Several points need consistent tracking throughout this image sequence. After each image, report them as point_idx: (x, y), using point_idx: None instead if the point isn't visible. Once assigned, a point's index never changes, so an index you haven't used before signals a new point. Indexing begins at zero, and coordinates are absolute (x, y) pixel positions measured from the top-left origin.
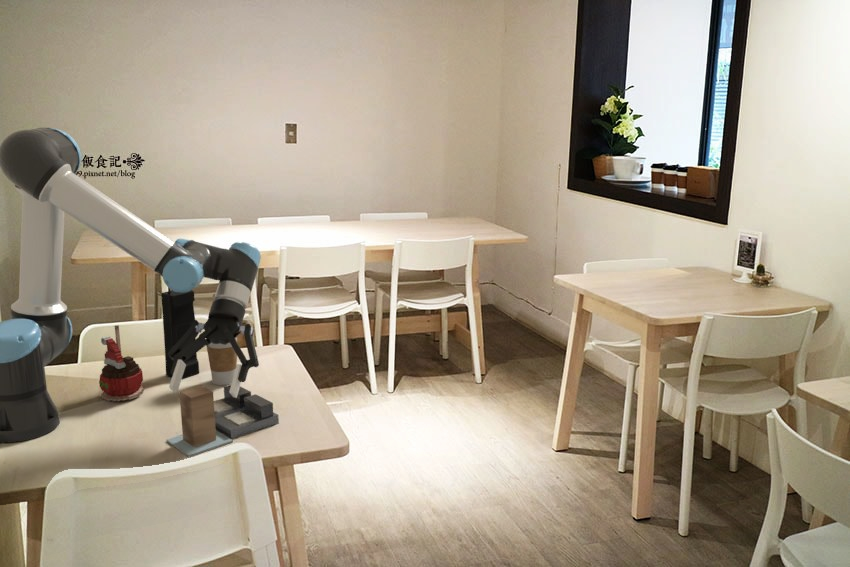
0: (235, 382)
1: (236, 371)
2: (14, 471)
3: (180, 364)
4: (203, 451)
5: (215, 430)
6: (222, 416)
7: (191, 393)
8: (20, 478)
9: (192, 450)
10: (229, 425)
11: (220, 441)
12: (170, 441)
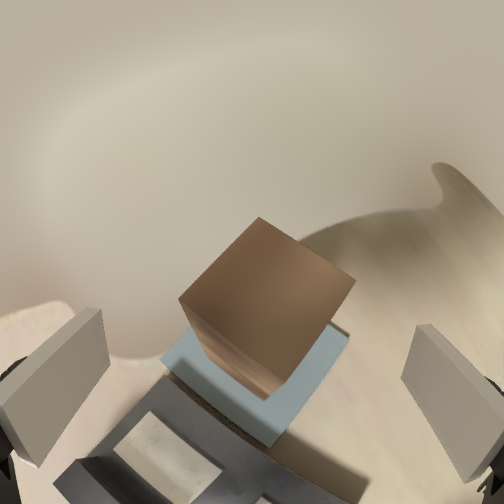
0: (57, 332)
1: (27, 370)
2: (481, 198)
3: (485, 412)
4: None
5: (204, 351)
6: (232, 476)
7: (281, 260)
8: (460, 181)
9: None
10: (180, 410)
11: (191, 349)
12: (333, 330)
